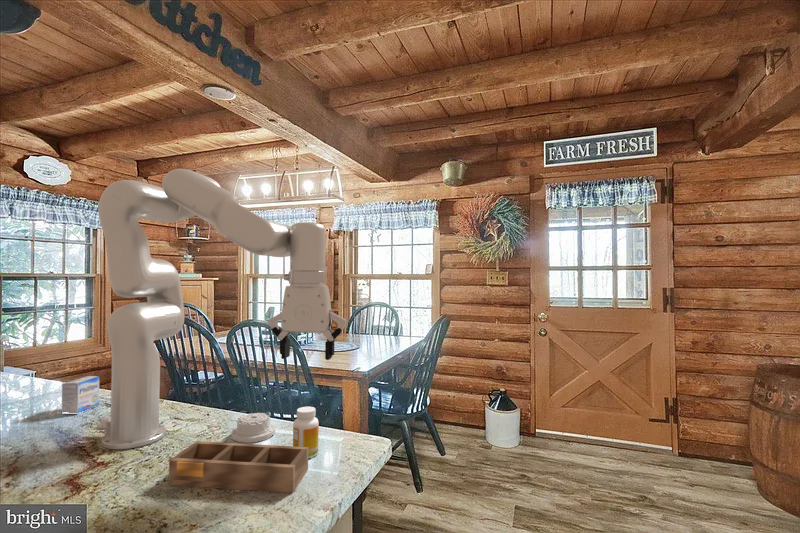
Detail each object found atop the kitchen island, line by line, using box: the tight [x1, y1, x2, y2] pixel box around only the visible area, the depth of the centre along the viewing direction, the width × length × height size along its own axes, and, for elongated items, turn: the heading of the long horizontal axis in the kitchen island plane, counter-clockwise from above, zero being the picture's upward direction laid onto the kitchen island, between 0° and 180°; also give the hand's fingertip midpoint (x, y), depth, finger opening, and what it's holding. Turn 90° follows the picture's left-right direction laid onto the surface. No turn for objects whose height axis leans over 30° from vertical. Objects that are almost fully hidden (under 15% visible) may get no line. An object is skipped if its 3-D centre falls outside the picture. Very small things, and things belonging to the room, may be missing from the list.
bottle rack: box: [168, 440, 309, 494], centre depth 77 cm, size 24×9×4 cm, turn 85°
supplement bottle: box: [292, 406, 320, 459], centre depth 88 cm, size 5×5×10 cm
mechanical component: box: [230, 412, 276, 444], centre depth 98 cm, size 10×4×10 cm
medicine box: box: [61, 375, 100, 413], centre depth 113 cm, size 8×4×9 cm, turn 179°
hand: (307, 358), depth 88 cm, fingers open, 9 cm apart
